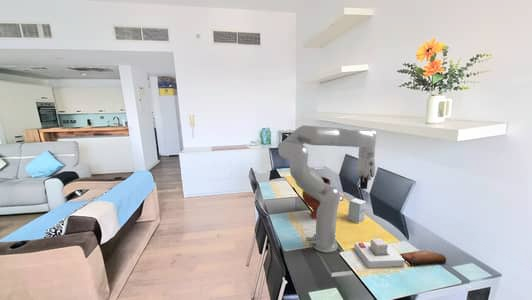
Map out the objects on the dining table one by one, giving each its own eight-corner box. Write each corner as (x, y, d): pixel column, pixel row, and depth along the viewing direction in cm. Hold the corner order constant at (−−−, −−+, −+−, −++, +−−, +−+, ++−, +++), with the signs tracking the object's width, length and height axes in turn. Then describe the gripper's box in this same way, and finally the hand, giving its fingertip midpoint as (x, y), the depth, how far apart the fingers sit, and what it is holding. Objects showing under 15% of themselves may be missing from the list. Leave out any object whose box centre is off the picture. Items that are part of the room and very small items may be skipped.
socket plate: (368, 267, 96) (369, 259, 96) (354, 248, 110) (354, 241, 110) (404, 266, 98) (405, 258, 97) (385, 247, 111) (385, 240, 111)
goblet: (299, 221, 137) (301, 182, 133) (303, 208, 155) (305, 174, 151) (331, 226, 132) (334, 185, 127) (332, 212, 150) (334, 176, 146)
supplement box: (358, 223, 135) (360, 204, 133) (347, 219, 140) (348, 200, 138) (364, 220, 139) (366, 201, 137) (353, 215, 145) (355, 197, 143)
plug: (386, 260, 102) (387, 244, 100) (375, 260, 101) (377, 244, 100) (379, 253, 107) (381, 238, 105) (369, 253, 106) (371, 238, 105)
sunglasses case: (430, 251, 108) (437, 244, 104) (440, 266, 103) (449, 260, 99) (396, 254, 106) (403, 247, 101) (405, 270, 100) (412, 263, 96)
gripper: (381, 157, 107) (378, 193, 110) (365, 151, 122) (363, 183, 125) (366, 157, 106) (363, 193, 109) (352, 151, 121) (350, 184, 124)
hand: (363, 188), depth 117 cm, fingers closed
